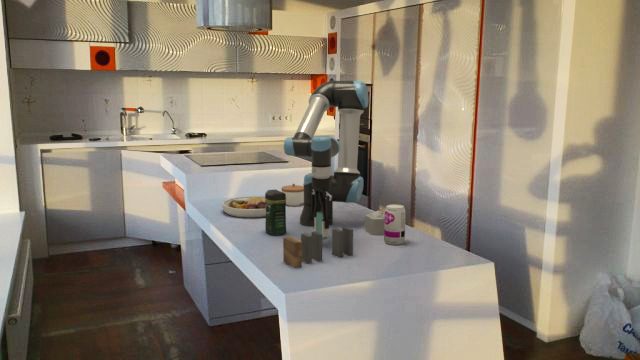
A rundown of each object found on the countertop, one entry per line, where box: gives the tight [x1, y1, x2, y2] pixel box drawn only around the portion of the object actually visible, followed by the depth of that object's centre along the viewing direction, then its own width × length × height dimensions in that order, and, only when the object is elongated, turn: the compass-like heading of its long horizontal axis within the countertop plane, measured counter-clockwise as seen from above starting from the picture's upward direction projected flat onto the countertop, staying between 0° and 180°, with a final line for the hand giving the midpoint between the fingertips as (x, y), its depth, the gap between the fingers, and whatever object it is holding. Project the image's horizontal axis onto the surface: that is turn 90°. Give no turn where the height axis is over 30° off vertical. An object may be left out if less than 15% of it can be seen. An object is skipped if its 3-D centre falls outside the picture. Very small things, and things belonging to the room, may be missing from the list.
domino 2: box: [317, 212, 328, 240], centre depth 239 cm, size 2×5×10 cm, turn 32°
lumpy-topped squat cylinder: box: [365, 210, 385, 236], centre depth 261 cm, size 10×13×9 cm
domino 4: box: [331, 227, 344, 259], centre depth 227 cm, size 2×5×10 cm, turn 32°
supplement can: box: [383, 203, 406, 246], centre depth 244 cm, size 8×8×15 cm
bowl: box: [221, 195, 266, 219], centre depth 298 cm, size 30×30×8 cm
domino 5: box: [341, 226, 354, 257], centre depth 229 cm, size 2×5×10 cm, turn 32°
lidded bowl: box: [280, 183, 304, 207], centre depth 314 cm, size 13×13×11 cm
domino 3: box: [311, 230, 324, 262], centre depth 222 cm, size 2×5×10 cm, turn 32°
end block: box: [282, 236, 303, 268], centre depth 217 cm, size 3×8×9 cm, turn 32°
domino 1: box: [300, 232, 313, 264], centre depth 220 cm, size 2×5×10 cm, turn 32°
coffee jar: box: [264, 189, 287, 236], centre depth 258 cm, size 10×8×19 cm
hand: (321, 234), depth 240 cm, fingers closed on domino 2, 5 cm apart
